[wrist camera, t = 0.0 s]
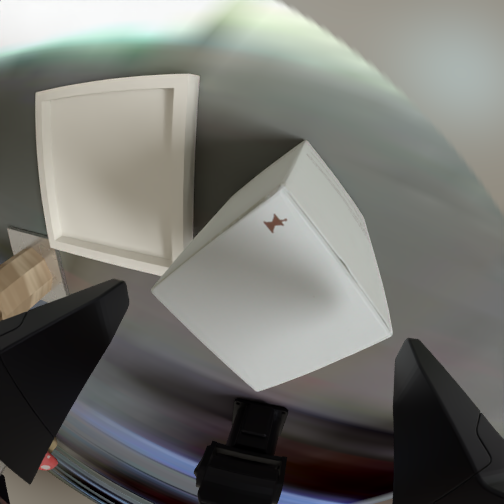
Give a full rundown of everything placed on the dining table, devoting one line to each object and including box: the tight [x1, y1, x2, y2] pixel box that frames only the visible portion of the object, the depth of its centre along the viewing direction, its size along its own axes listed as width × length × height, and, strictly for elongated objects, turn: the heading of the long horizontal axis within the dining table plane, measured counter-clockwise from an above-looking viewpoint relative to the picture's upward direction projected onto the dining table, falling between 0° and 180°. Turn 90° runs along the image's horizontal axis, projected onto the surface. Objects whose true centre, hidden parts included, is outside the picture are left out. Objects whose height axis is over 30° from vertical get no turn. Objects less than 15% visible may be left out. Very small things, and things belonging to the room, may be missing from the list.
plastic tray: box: [35, 74, 200, 276], centre depth 23 cm, size 16×16×2 cm
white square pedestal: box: [7, 227, 69, 303], centre depth 30 cm, size 10×10×6 cm
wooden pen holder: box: [0, 247, 53, 321], centre depth 28 cm, size 6×6×8 cm
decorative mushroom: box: [39, 437, 58, 470], centre depth 64 cm, size 13×13×15 cm
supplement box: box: [151, 140, 393, 392], centre depth 17 cm, size 7×7×13 cm
